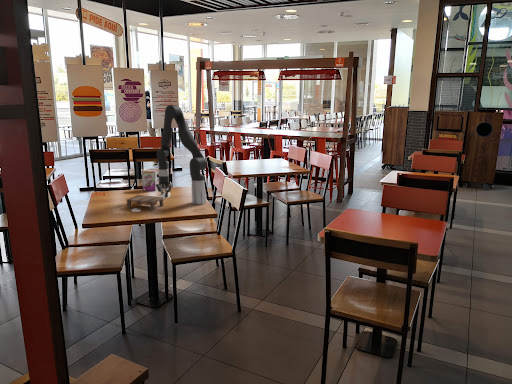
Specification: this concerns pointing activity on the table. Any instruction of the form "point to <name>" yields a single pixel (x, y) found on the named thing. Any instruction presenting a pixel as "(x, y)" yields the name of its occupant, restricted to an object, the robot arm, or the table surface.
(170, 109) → the robot arm
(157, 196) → the long white slat
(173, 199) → the table surface
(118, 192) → the table surface
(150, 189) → the candy bar box
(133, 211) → the steel token
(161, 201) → the low walnut stand
